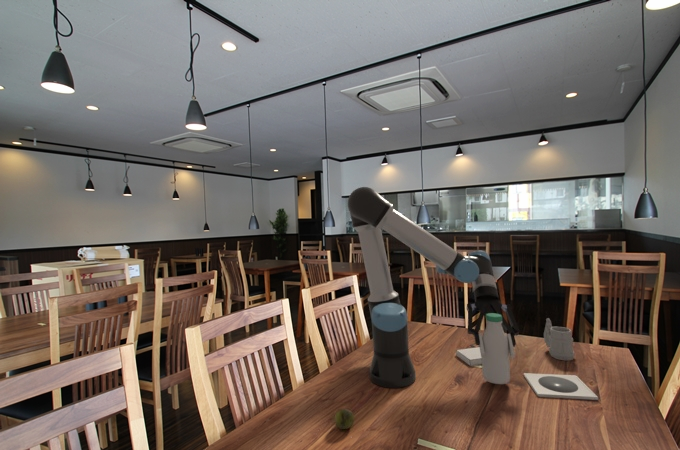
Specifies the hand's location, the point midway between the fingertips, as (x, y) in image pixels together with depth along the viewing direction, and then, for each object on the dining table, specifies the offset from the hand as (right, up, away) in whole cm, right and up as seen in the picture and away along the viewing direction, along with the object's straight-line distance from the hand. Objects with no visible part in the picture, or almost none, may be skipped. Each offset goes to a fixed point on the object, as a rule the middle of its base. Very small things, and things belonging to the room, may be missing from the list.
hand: (497, 355), depth 101 cm
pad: (+18, -9, 0) cm, 20 cm away
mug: (+32, -8, +22) cm, 40 cm away
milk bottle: (+1, -9, +3) cm, 10 cm away
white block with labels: (+3, -10, +23) cm, 25 cm away
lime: (-46, -13, -15) cm, 50 cm away
